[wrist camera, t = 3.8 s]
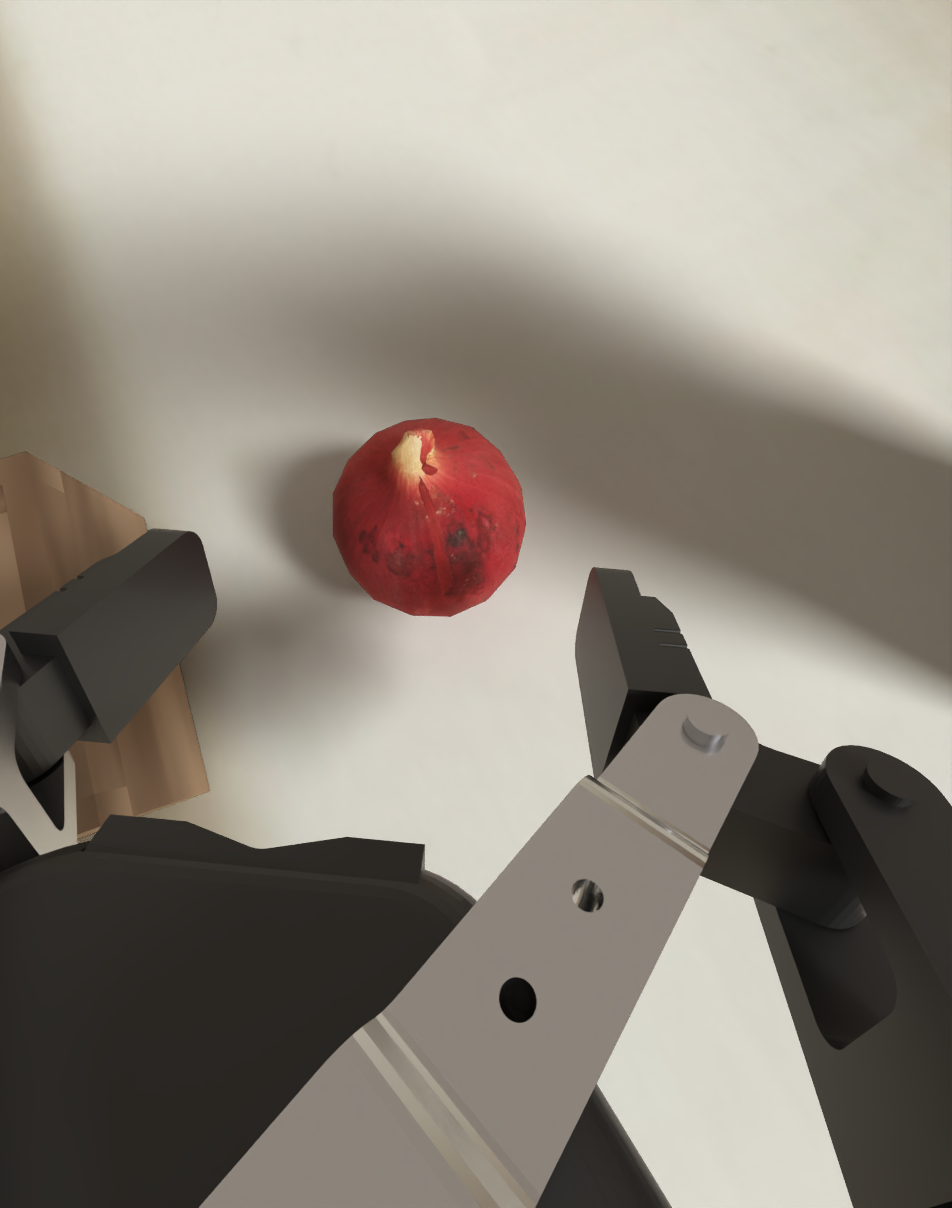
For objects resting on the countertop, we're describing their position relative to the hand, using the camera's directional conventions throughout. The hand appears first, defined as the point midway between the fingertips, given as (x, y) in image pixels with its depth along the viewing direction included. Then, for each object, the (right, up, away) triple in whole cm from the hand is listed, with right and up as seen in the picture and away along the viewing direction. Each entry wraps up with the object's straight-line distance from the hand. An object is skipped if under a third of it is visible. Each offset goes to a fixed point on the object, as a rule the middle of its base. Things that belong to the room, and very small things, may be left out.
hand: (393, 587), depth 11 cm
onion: (0, +1, +9) cm, 9 cm away
